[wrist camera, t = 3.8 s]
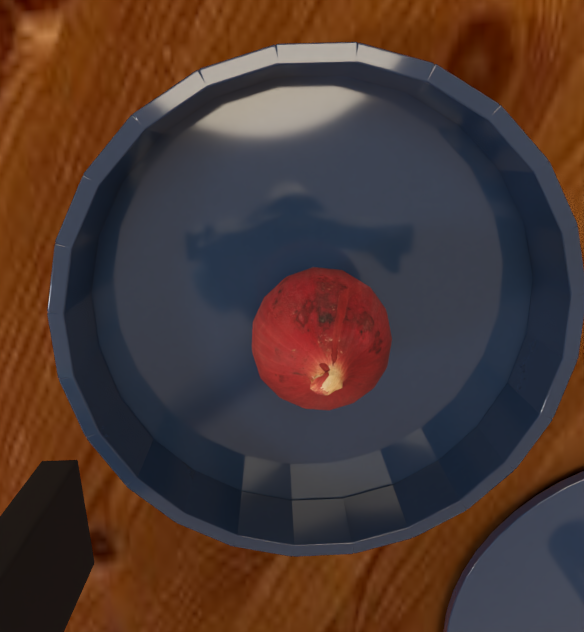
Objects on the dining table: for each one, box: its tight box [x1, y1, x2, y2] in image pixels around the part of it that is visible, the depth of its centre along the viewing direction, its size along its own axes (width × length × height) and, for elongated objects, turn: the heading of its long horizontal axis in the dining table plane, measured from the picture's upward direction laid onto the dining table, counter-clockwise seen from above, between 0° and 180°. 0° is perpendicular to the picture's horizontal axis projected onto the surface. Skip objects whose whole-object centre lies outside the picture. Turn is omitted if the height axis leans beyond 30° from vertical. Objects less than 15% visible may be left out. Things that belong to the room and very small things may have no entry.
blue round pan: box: [47, 42, 584, 557], centre depth 24 cm, size 22×22×4 cm
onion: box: [252, 267, 392, 410], centre depth 22 cm, size 6×6×8 cm
